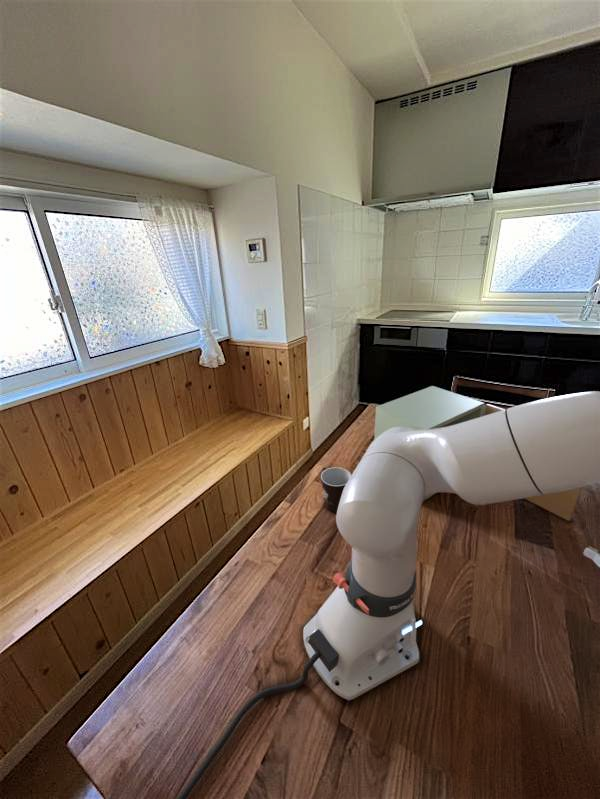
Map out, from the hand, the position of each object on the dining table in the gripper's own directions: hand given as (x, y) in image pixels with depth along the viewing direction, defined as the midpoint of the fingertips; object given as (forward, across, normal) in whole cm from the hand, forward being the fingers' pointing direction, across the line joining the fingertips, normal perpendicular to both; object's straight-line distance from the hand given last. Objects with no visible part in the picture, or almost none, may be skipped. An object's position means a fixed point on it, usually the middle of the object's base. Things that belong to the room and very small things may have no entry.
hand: (594, 539), depth 72 cm
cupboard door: (+21, +16, -8) cm, 27 cm away
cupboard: (+44, 0, -8) cm, 45 cm away
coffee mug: (+50, -31, -8) cm, 59 cm away
